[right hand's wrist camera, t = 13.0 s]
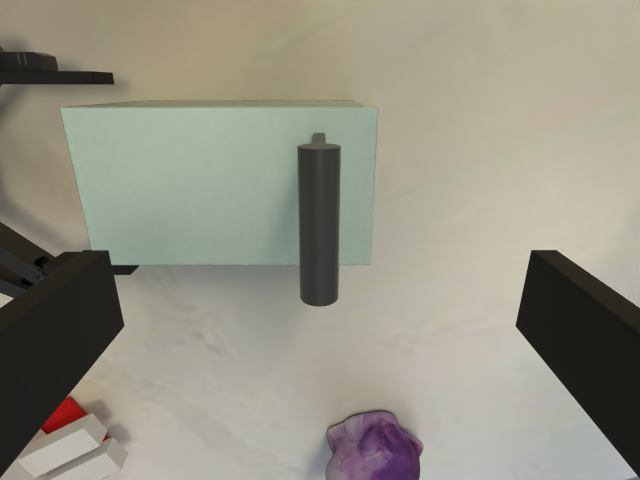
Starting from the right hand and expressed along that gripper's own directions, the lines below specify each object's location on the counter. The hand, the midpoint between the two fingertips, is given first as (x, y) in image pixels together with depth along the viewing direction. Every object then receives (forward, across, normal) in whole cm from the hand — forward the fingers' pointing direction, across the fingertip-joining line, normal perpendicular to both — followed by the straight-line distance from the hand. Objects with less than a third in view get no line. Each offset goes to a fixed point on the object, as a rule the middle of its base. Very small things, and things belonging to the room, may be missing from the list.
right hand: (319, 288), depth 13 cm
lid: (+13, -6, 0) cm, 14 cm away
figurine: (+24, +5, -32) cm, 41 cm away
